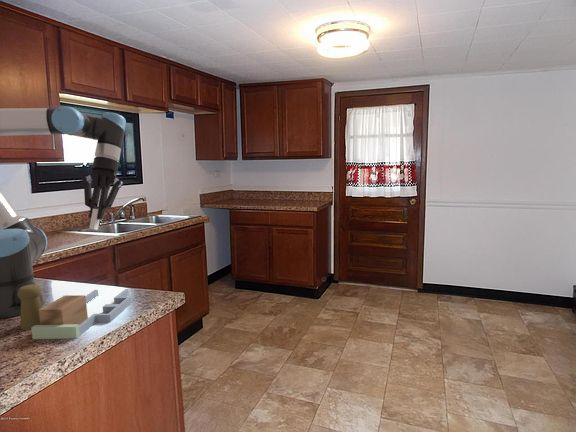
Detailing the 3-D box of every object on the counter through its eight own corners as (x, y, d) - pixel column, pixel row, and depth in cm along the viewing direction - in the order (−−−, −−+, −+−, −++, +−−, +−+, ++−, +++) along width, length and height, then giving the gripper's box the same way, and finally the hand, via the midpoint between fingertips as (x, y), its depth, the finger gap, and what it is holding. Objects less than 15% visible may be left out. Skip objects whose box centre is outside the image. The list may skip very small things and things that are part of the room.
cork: (33, 330, 100) (28, 290, 99) (14, 329, 102) (8, 289, 100) (52, 320, 106) (47, 282, 105) (33, 319, 108) (28, 281, 106)
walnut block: (42, 335, 98) (38, 309, 96) (67, 319, 107) (64, 295, 106) (64, 336, 97) (61, 309, 96) (87, 319, 107) (85, 295, 106)
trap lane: (32, 339, 95) (31, 327, 95) (95, 295, 126) (94, 286, 125) (92, 338, 95) (91, 326, 95) (141, 294, 125) (140, 285, 125)
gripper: (130, 164, 132) (118, 232, 128) (92, 160, 132) (79, 228, 128) (121, 157, 124) (108, 230, 121) (81, 153, 124) (67, 225, 121)
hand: (93, 229), depth 124 cm, fingers closed
